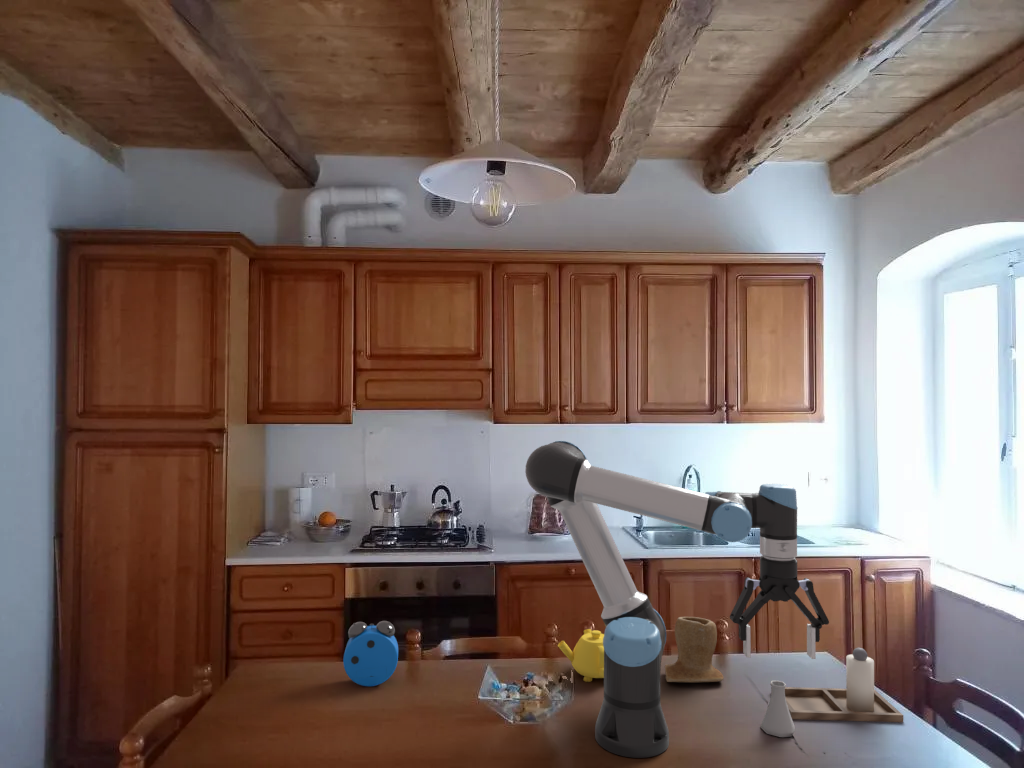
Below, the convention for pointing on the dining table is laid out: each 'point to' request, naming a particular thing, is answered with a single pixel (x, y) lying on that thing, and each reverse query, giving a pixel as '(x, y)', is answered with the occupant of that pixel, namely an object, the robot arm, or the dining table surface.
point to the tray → (835, 706)
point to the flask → (778, 713)
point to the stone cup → (694, 652)
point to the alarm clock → (371, 653)
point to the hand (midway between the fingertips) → (779, 656)
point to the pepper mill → (860, 681)
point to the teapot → (587, 655)
